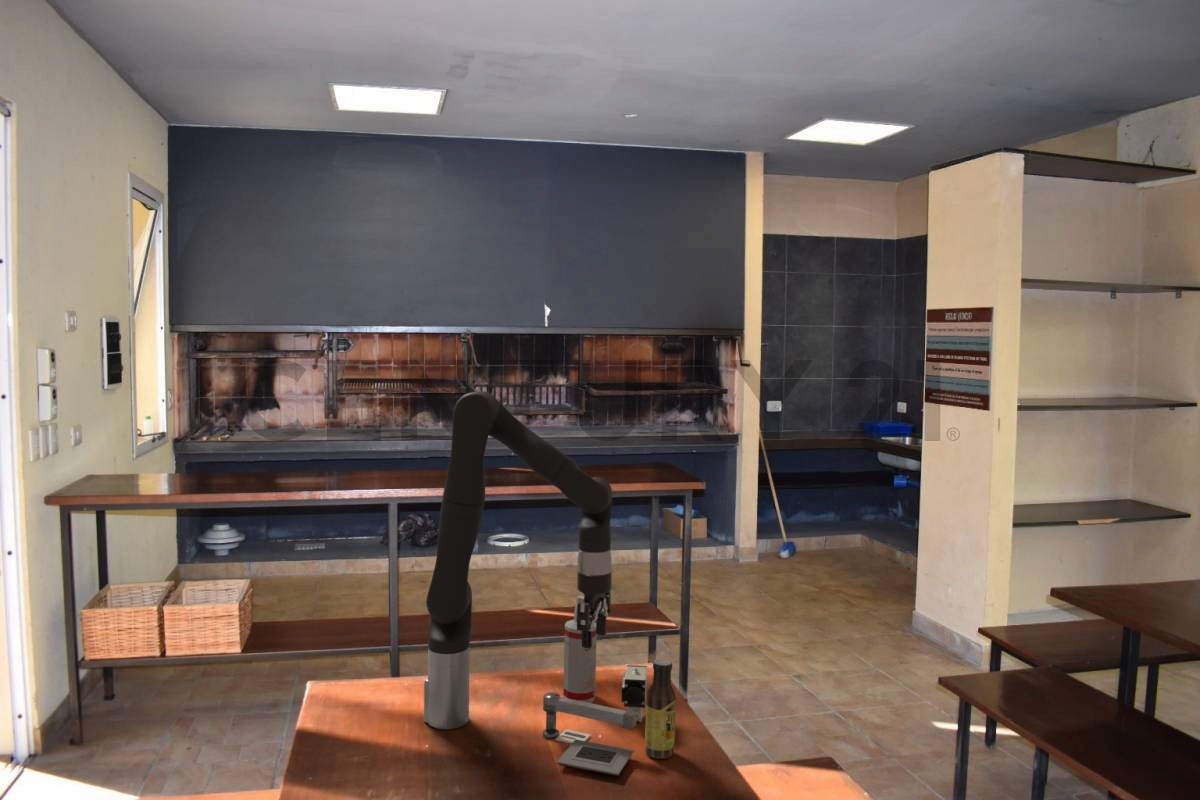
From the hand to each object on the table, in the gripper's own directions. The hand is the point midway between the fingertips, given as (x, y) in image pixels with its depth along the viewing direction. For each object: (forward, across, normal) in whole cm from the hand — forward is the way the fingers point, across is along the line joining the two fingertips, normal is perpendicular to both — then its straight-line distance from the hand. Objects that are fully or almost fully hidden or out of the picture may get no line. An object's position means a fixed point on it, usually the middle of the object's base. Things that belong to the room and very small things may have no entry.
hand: (594, 641), depth 198 cm
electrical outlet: (+21, +14, +6) cm, 26 cm away
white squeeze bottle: (+21, -15, -10) cm, 27 cm away
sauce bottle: (+21, +4, +17) cm, 27 cm away
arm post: (+20, +6, -8) cm, 23 cm away
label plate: (+20, +5, -3) cm, 21 cm away
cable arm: (+14, +7, +1) cm, 16 cm away
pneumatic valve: (+21, -9, +6) cm, 24 cm away
